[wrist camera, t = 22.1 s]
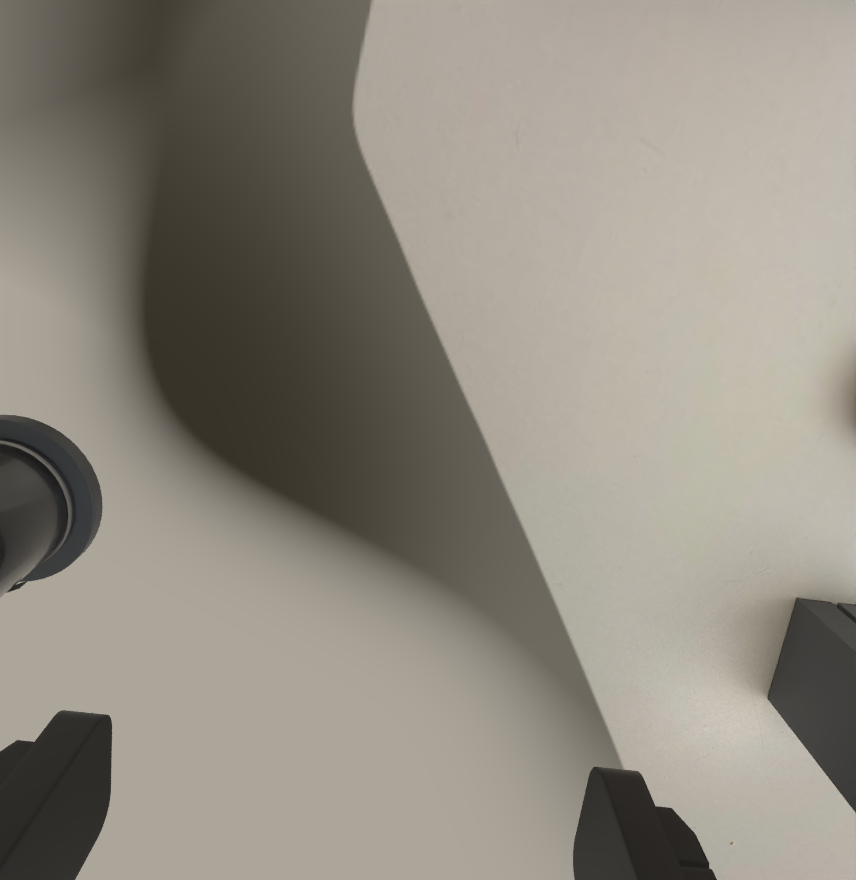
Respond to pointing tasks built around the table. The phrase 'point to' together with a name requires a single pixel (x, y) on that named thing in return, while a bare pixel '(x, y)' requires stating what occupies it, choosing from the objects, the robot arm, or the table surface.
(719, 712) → the table surface
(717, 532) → the table surface
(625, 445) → the table surface
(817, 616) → the grey books
